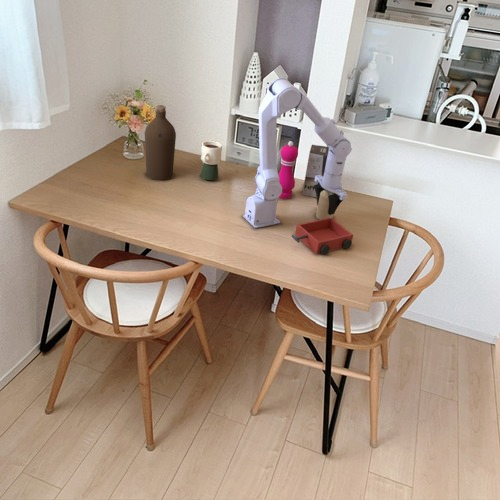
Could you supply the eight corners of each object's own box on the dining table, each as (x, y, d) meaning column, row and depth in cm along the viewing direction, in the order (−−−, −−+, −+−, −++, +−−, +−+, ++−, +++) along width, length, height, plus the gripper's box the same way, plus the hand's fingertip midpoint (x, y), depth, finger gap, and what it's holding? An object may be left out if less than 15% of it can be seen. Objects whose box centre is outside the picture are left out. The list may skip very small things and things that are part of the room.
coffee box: (319, 198, 189) (327, 156, 180) (301, 195, 189) (309, 152, 181) (321, 187, 196) (329, 146, 188) (304, 184, 197) (311, 143, 188)
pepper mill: (269, 196, 186) (277, 142, 175) (276, 188, 192) (284, 135, 181) (289, 201, 184) (298, 147, 173) (295, 193, 190) (304, 140, 179)
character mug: (207, 170, 198) (209, 137, 191) (224, 175, 196) (227, 142, 189) (193, 181, 190) (195, 146, 183) (211, 186, 188) (214, 151, 181)
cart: (316, 254, 157) (318, 242, 155) (295, 235, 165) (297, 224, 163) (350, 245, 163) (353, 234, 161) (328, 228, 171) (331, 217, 169)
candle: (335, 218, 177) (341, 191, 172) (325, 223, 174) (331, 195, 169) (322, 211, 180) (327, 185, 175) (312, 216, 177) (317, 189, 171)
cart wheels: (305, 259, 154) (307, 249, 152) (281, 236, 164) (282, 226, 162) (350, 248, 162) (353, 238, 160) (324, 226, 172) (326, 217, 170)
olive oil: (180, 178, 191) (182, 109, 177) (153, 183, 185) (154, 113, 171) (165, 166, 197) (166, 100, 184) (139, 171, 191) (138, 103, 178)
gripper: (357, 179, 165) (348, 217, 172) (329, 161, 175) (322, 198, 183) (340, 183, 162) (331, 221, 169) (312, 164, 172) (305, 201, 179)
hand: (325, 209), depth 176 cm, fingers closed on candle, 5 cm apart
